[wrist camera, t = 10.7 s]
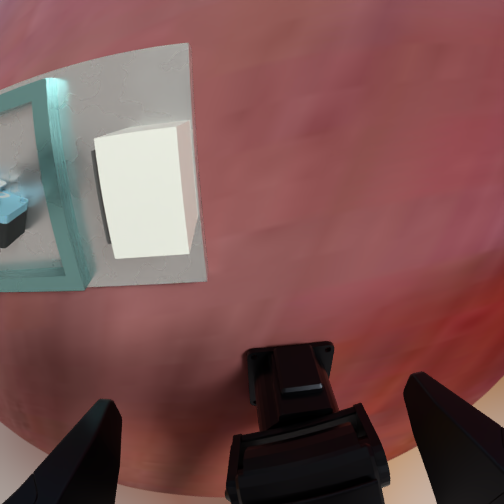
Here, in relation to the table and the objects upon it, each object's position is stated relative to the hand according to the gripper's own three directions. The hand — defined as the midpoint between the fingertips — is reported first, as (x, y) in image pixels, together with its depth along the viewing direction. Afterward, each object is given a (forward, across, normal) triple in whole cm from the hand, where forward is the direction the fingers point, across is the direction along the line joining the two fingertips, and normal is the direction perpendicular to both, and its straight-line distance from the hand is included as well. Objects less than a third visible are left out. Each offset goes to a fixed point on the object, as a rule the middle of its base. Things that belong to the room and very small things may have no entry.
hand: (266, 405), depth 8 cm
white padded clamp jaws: (+10, +15, -4) cm, 19 cm away
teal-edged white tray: (+12, +16, -4) cm, 20 cm away
